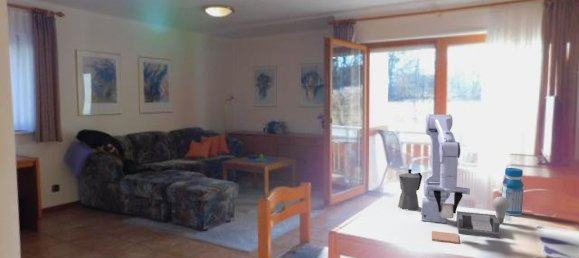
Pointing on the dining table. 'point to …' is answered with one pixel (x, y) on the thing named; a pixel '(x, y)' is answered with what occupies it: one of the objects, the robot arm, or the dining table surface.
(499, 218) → the lightbulb
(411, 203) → the coffeepot
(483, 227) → the clip
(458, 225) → the socket block
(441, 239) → the mat
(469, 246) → the dining table surface
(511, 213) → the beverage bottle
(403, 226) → the dining table surface
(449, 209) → the plug
